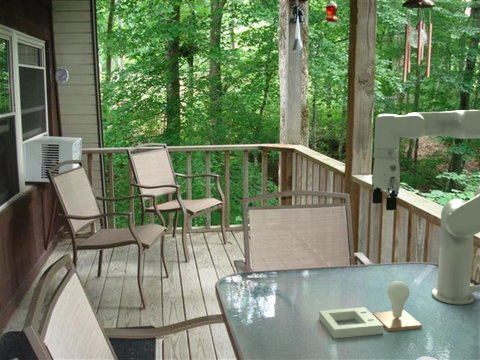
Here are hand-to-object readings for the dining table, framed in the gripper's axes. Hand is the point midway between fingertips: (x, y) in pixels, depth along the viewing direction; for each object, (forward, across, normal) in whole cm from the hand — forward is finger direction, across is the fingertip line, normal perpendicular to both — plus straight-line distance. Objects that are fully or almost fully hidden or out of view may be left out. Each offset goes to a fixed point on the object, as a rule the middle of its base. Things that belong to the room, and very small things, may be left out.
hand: (383, 206), depth 167 cm
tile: (+28, -23, +6) cm, 37 cm away
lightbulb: (+28, -23, +6) cm, 36 cm away
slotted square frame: (+28, -23, +20) cm, 42 cm away
